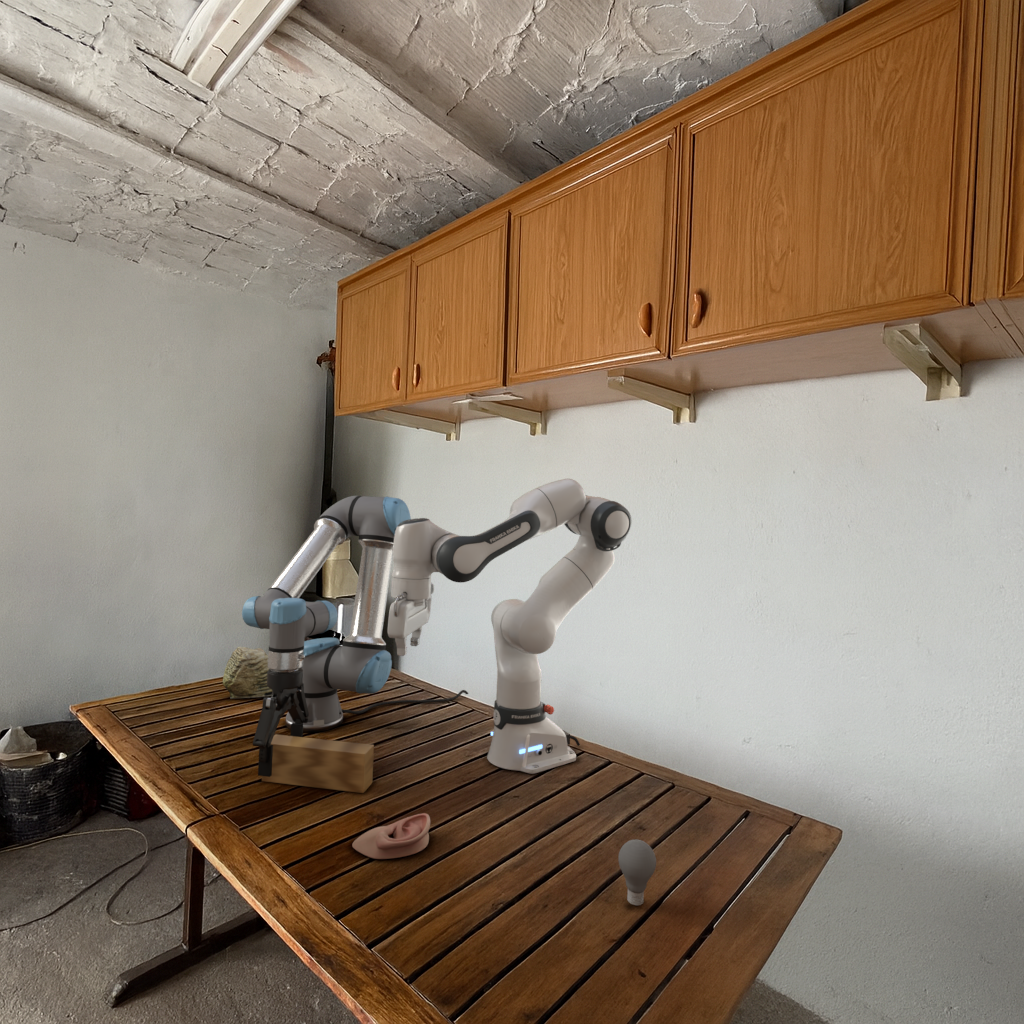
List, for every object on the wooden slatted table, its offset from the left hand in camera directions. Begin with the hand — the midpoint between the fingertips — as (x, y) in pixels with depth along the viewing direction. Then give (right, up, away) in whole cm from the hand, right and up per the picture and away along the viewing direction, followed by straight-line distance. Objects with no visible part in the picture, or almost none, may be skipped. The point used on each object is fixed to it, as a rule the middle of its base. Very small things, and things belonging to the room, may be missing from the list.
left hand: (281, 763), depth 142 cm
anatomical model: (+29, -5, -25) cm, 39 cm away
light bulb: (+72, -7, -39) cm, 82 cm away
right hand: (+28, +25, +2) cm, 38 cm away
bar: (+8, -4, -1) cm, 9 cm away
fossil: (-29, -1, +56) cm, 63 cm away
